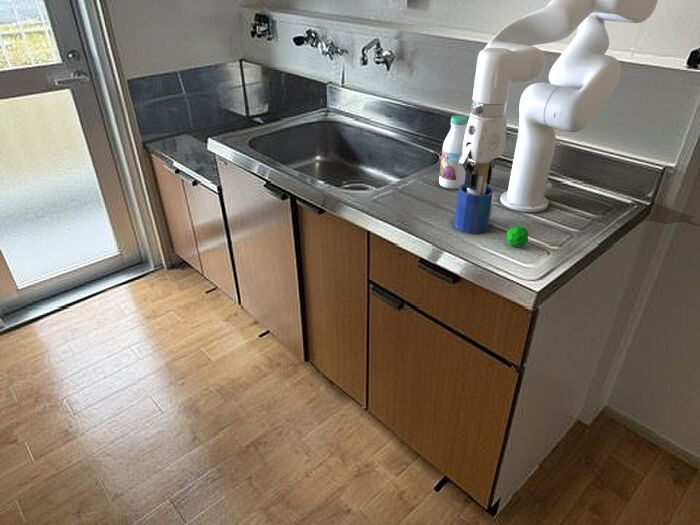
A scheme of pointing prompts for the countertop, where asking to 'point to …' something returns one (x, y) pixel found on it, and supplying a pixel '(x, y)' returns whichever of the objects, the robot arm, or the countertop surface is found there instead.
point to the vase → (473, 210)
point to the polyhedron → (517, 236)
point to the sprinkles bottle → (480, 179)
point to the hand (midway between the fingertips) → (477, 184)
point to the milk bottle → (453, 154)
